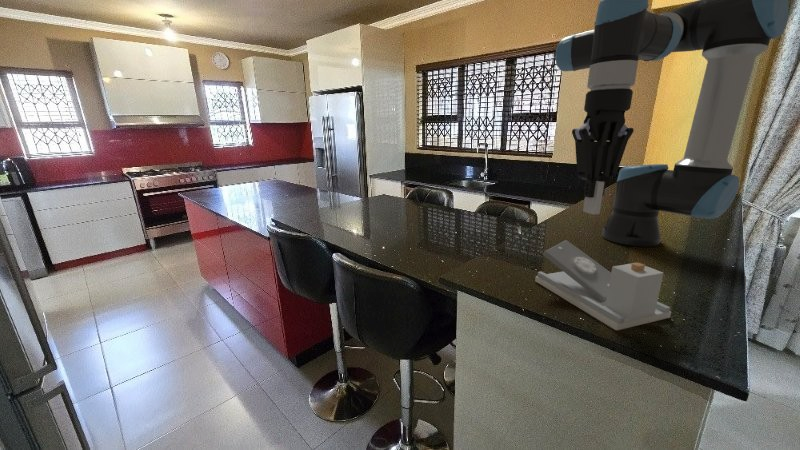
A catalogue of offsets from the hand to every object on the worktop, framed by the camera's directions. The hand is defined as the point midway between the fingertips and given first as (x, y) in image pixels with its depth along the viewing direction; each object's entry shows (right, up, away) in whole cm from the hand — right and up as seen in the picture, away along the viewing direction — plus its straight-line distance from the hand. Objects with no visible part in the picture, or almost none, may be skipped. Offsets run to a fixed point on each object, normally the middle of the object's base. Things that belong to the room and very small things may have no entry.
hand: (591, 212), depth 69 cm
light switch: (0, -16, +4) cm, 16 cm away
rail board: (+1, -18, +1) cm, 18 cm away
